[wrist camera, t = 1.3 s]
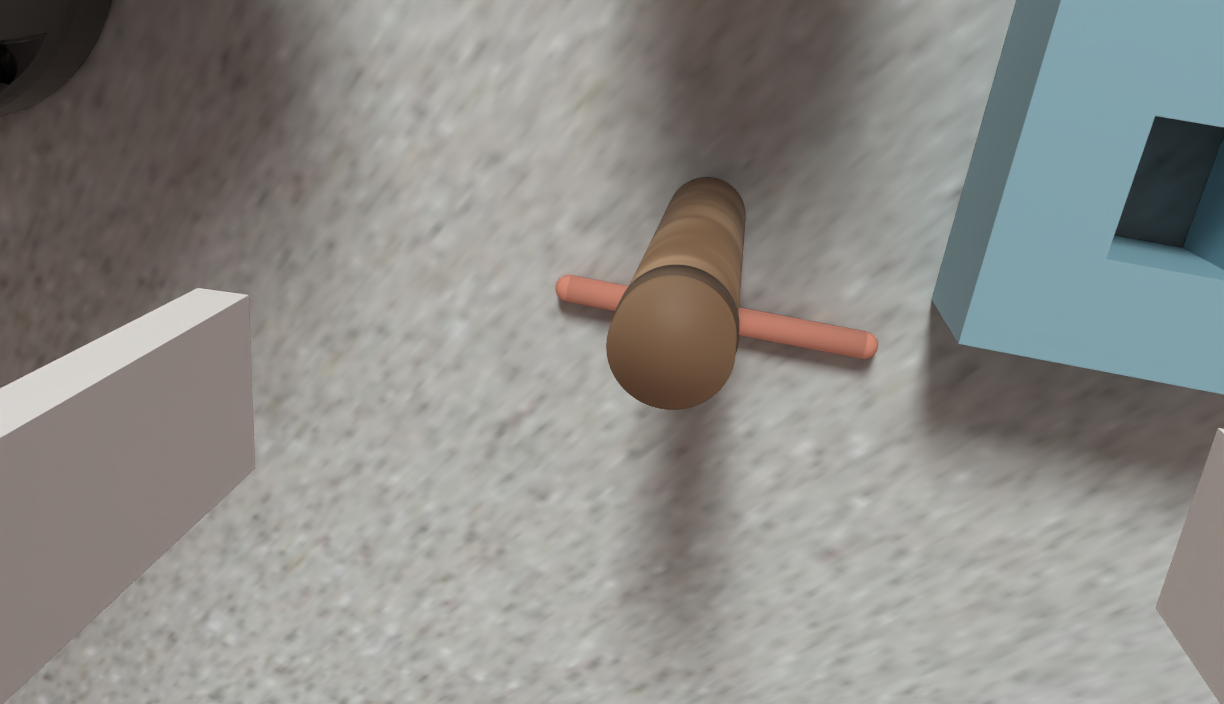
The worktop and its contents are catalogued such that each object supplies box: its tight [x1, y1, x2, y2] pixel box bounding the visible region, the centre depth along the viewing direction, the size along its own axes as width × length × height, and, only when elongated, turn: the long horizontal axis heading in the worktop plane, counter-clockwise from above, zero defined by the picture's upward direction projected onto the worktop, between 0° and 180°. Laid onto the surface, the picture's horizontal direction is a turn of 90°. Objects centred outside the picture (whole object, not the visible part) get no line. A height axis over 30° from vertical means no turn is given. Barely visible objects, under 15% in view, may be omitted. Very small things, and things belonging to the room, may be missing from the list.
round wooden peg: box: [606, 177, 745, 410], centre depth 28 cm, size 3×3×15 cm
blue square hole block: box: [932, 0, 1224, 394], centre depth 30 cm, size 11×11×5 cm
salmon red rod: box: [556, 275, 878, 359], centre depth 36 cm, size 12×1×1 cm, turn 81°
